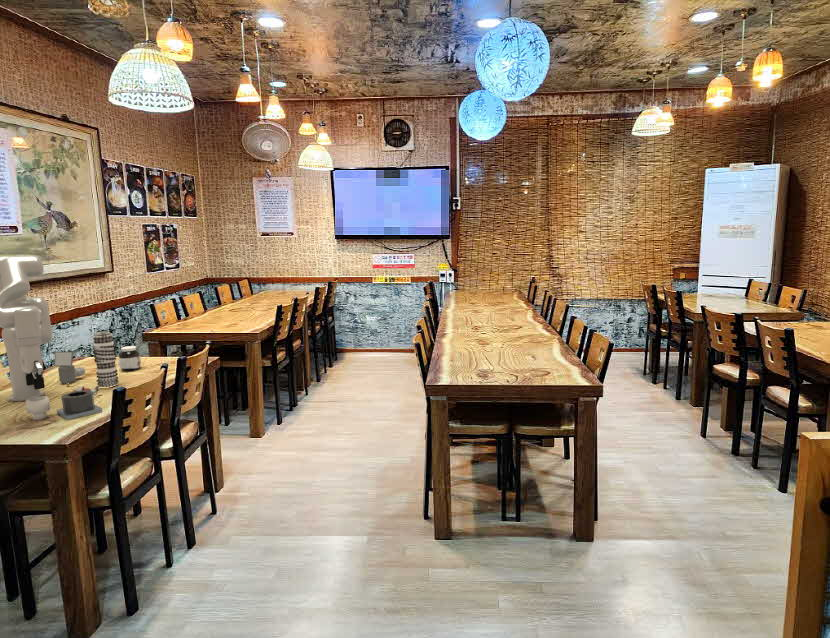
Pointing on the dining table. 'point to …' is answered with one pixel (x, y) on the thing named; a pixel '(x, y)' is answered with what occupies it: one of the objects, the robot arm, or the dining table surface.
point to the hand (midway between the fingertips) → (35, 386)
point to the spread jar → (129, 359)
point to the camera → (67, 367)
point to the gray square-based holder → (78, 404)
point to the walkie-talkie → (87, 389)
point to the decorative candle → (105, 359)
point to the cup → (38, 407)
